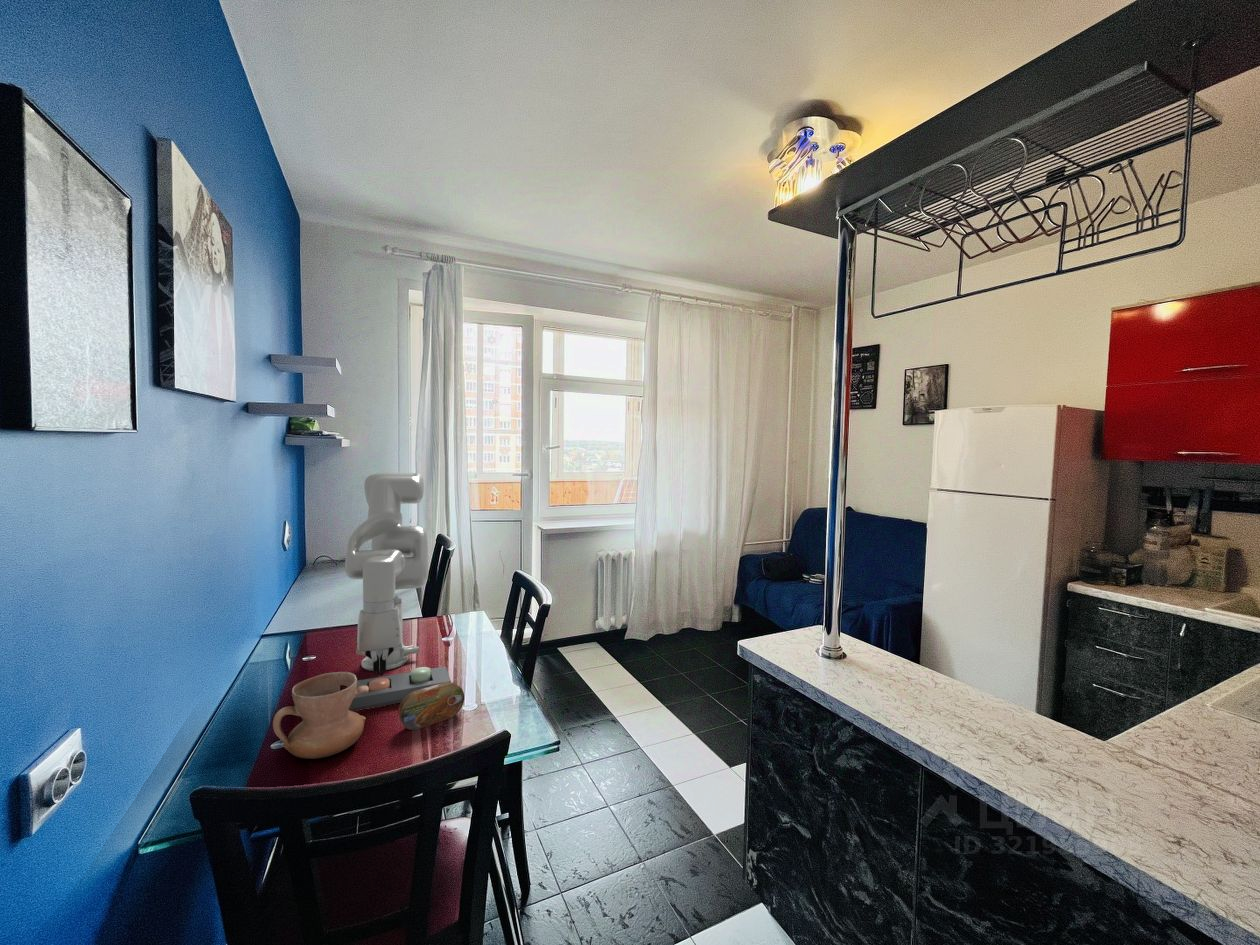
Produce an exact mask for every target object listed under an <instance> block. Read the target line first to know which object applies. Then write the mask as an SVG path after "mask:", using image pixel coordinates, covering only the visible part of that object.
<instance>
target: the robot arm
mask: <svg viewBox="0 0 1260 945" xmlns="http://www.w3.org/2000/svg"><path fill="white" fill-rule="evenodd" d="M424 484H425V483H424V478H423V477H422V475H421V474H420V473H417V472H415V473H414V472H381V473H380V472H379V473H378V472H377V473H372V474H370V475H368V476H367V477H366V478H365V480H364V488H363V489H364V496H365V500H366V503H367V506H368V512H367V519H365V520H364V521H363V522H362V523H361V524H360V525H358V526H357V527H356V528H355V530H353V532H352V533H351V535H350V537H349V538H348V541H347V546H346V550H345V551H346V552H345V553H346V554H345V560H344V562H345V563H344V569H345V570H344V571H345V573H346V576H347V578H350V579H351V580H362V609H360V610H359V614H358V618H357V619H358V620H357V635H356V636H357V638H356V639H357V642H356V643H357V647H356V651H355V652H356V653H355V654H356V656H365V657H364V658H363V659H362V660H361V668H363V669H364V670H367V671H373V673H375V675H376V677H380V676H384V671H388V670H392V669H396V668H399V667H401V666H402V665H405V664H406V663H407V662H408V660H409V655H411V654H412V655H413V654H419V651H420V649H419V646H415V645H414V644H412V645H407V646H406V645H404V641H403V602H402V597H399V594H397V593H396V591H398V590H411V589H419V588H423V587H425V585H426V584H427V581H428V579H429V578H428V577H429V562H428V561H429V558H428V557H429V553H428V551H429V549H428V547H429V545H428V534H427V532H426V530H425V528H423V527H421V526H417V525H408V526H407V525H404V526H403V515H402V513H401V509H402V508H401V505H404V504H405V505H407V504H409V505H410V504H411V505H412V504H416V505H417V504H419V503H421V502H422V500H423V497H424V493H425V492H424V491H425V490H424V489H425V485H424ZM369 540H371V549H365V550H360V549H361V547H362V546H363V545H364V544H365V543H366V542H368V541H369Z"/></svg>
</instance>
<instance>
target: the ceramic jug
mask: <svg viewBox="0 0 1260 945" xmlns="http://www.w3.org/2000/svg"><path fill="white" fill-rule="evenodd" d="M357 681H358V678H357V676H356V674H354V673H352V672H349V671H337V672H336V671H333V672H327V673H323V674H319V675H316V676H312V677H310V678H307V679H305V680H302V681H300V682H297V683H296V684H295V685H294V686H293V687H292V690H291V696H292V700H293V704H294V706H293V705H290V706H289V705H288V706H287V705H286V706H285V707H282V708H280V709H279V710H278V711H277V712H276V713H275V715H274V717H273V720H272V728H273V731H274V733H275V735H276V736H277V737H278V738H279V740H280V741H281V742H282V743H283V748H284V749H286V750H287V751H288V752H289V754H291V755H293V756H295V757H296V758H297V757H298V758H301V759H307V760H308V759H309V760H310V759H311V760H312V759H313V760H315V759H322V758H328V757H331V756H334V755H336V754H339V753H341V752H343V751H345V750H347V749H349V748H350V747H352V746H353V745H354V744H355V743H356V742H357V741H358V740H359V738H360V737H361V735H362V734H363V731H364V726H365V722H366V716H364V715H360V714H359V713H358V712H353V711H350V710H348V709H349V707H350V705H351V703H352V700H353V698H354V697H356V696H357V695H358V694H360V693H362V692H366V693H368V691H369V687H368V686H360V687H358V688H357V689H356V686H357ZM341 686H346V688H345V689H342V690H341ZM286 715H293V716H296V717H300V718H301V719H302V721H301V722H299V723H298V724H296V726H295V727H293V729H291V731H290V732H289V734H288V736H287V735H286V734H285V732H284V731H283V728H282V719H283V717H285V716H286Z"/></svg>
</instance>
